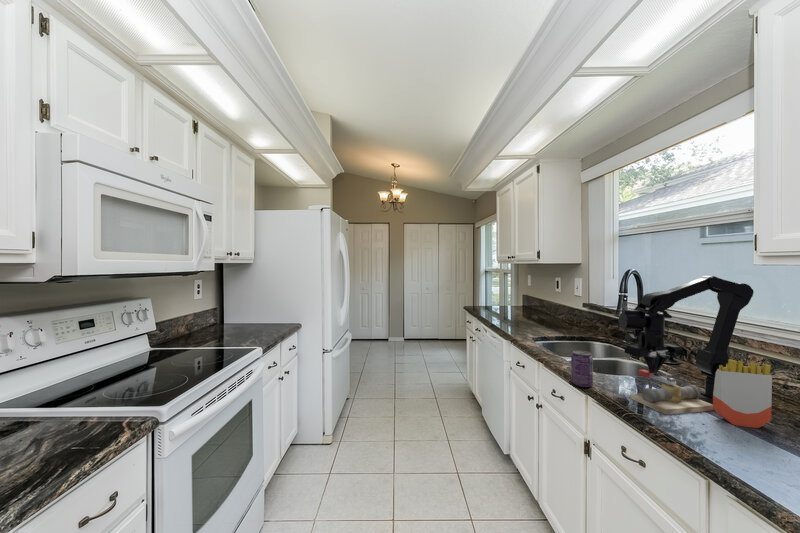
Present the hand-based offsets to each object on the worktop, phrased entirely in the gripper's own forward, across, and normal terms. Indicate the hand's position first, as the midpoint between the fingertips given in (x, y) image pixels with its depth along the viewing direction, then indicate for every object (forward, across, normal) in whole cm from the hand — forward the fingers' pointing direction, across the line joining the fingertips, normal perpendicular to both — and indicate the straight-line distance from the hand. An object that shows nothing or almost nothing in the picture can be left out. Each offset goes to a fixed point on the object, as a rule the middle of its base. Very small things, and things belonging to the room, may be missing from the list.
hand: (653, 374), depth 115 cm
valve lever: (0, +3, +4) cm, 5 cm away
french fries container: (+7, -4, +23) cm, 24 cm away
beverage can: (+7, +19, -11) cm, 23 cm away
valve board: (+6, +3, +9) cm, 11 cm away
